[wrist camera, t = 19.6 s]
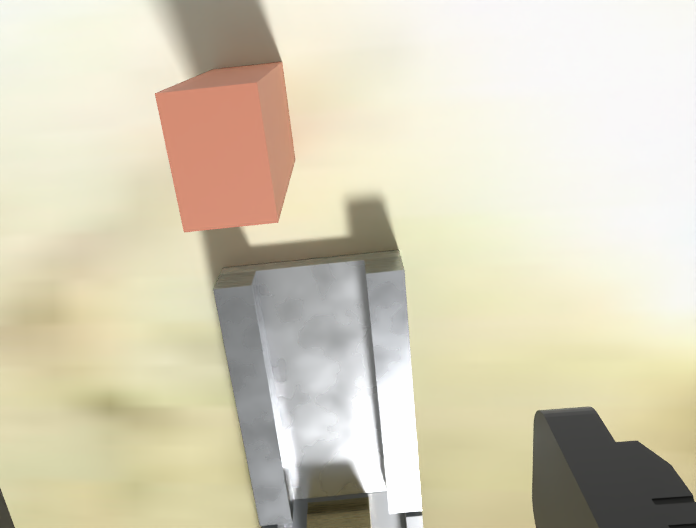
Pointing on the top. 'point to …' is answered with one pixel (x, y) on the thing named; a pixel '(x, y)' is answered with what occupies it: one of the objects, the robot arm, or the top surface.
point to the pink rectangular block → (229, 146)
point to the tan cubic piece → (339, 514)
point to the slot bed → (322, 379)
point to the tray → (383, 524)
